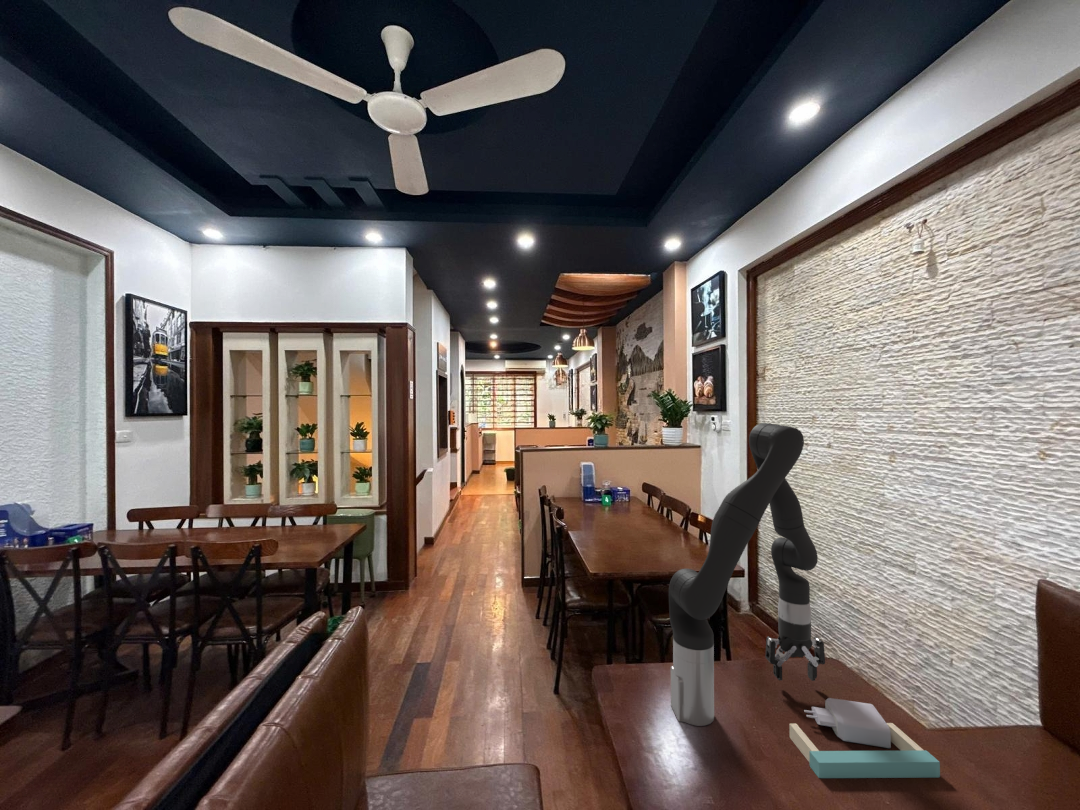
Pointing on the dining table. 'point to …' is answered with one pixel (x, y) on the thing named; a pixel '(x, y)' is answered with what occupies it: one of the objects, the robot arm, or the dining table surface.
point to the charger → (853, 722)
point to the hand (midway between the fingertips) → (795, 678)
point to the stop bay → (869, 759)
